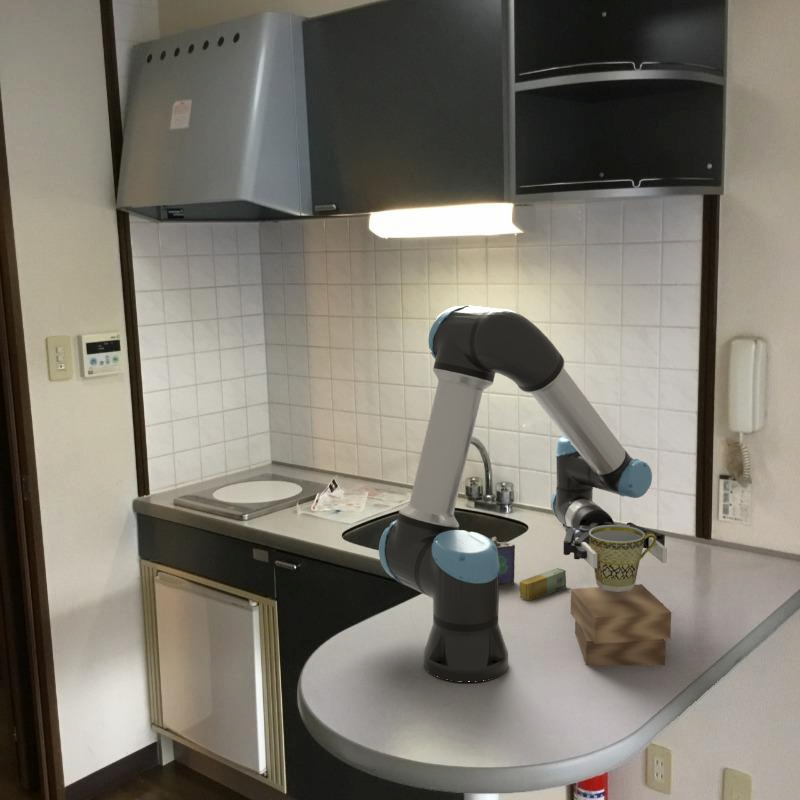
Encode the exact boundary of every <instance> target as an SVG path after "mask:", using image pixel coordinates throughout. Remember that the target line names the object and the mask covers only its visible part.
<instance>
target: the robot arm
mask: <svg viewBox="0 0 800 800" xmlns="http://www.w3.org/2000/svg"><path fill="white" fill-rule="evenodd" d="M428 348H429V349H430V354H431V356H432V357H433V358H434V364H433V368H432V371H433V373H434V374H435V376H436V378H437V380H438V381H437V386H436V389H435V395H434V398H433V403H432V408H431V411H430V414H429V415H430V416H429V419H428V424H427V428H426V432H425V436H424V441H423V445H422V447H421V448H422V449H421V453H420V457H419V461H418V464H417V470H416V473H415V479H414V482H413V486H412V487H413V488H412V490H411V495H410V500H409V502H408V504H407V505H405V506H404V507H402V508H400V509H399V510H398V515H397V519H396V520H394V521H392V522H391V523H390V524H389V526H388V527H386V528H385V529H384V531H383V533H382V534H381V535H380V536H381V537H380V540H379V544H378V557H379V560H380V564H381V566H382V567H383V570H384V571H385V572H386V574H387V575H389V576H390V577H391V578H393V579H394V580H395V581H396V582H398V583H399V584H401V585H403V586H405V587H409V588H411V589H413V590H415V591H417V592H419V593H421V594H423V595H426V596H427V597H430V598H431V599H432V608H433V609H432V616H433V618H432V619H433V621H432V627H431V629H430V632H429V636H428V639H427V641H426V645H425V647H424V650H423V666H424V668H425V670H426V669H427V670H428V671H429V672H430V673H431V674H430V673H429V672H428V671H427V670H426V671H427V672H428V673H429V674H430V675H432V674H433V675H432V676H434V675H435V676H434V677H436V676H438V677H440V678H443V679H442V680H444V679H448V680H452V681H451V682H453V681H462V682H468V681H470V682H474V683H476V682H475V681H482V682H484V681H483V680H487V681H489V680H488V679H491V680H493V679H492V678H494V679H496V678H498V677H500V676H501V674H502V675H503V674H504V673H505V672H506V671H507V670H508V667H509V652H508V648H507V646H506V643H505V639H504V637H503V633H502V631H501V628H500V624H499V609H500V607H499V602H500V601H499V599H500V596H499V595H500V585H499V568H500V564H499V559H498V550H497V547H496V545H495V544H494V543H493V541H492V539H490V538H489V537H487V536H486V535H483V534H482V533H479V532H475V531H467V530H463V529H461V530H460V529H459V528H460V524H459V522H458V520H457V519H456V517H455V509H456V506H457V505H456V504H457V500H458V496H459V492H460V489H461V483H462V479H463V476H464V475H463V474H464V471H465V467H466V465H467V464H466V463H467V458H468V453H469V451H470V450H469V449H470V446H471V443H472V438H473V435H474V430H475V425H476V421H477V417H478V412H479V409H480V403H481V401H482V400H481V399H482V396H483V393H484V391H485V390H487V389H488V388H489V387H491V386H492V385H493V384H494V380H495V375H496V374H499V375H502V376H504V377H506V378H508V379H509V380H511V381H513V382H514V383H515V384H516V386H517V387H518V388H519V389H520V391H521V392H523V393H528V394H531V395H532V396H533V398H534V399H535V401H537V403H538V404H539V405H540V407H541V408H542V409H543V410H544V412H545V413H546V414H547V415H548V417H549V418H550V419H551V420H552V421H553V423H554V425H556V426H557V428H558V429H559V430H560V432H561V433H562V434H563V435H562V436H561V437H559V439H557V446H556V448H557V449H556V455H555V457H556V488H555V489H556V490H555V492H554V493H553V495H552V497H551V499H550V508H551V511H552V513H553V514H554V516H555V517H556V519H557V520H558V521H559V522H560V523H562V524H563V525H564V526H565V537H564V540H563V555H564V556H569V555H571V553H572V554H573V559H574V560H581V559H582V560H584V561H585V562H586V563H587V564H588V565H589V566H590V567H591V568H592V569H594V568H597V553H596V552H595V551H594V550H593V549H591V547H590V542H589V531H590V530H591V529H592V528H594V527H598V526H603V525H618V524H616V523H615V522H614V520H613V518H612V517H611V515H610V513H608V512H606V511H605V510H604V509H602V508H601V506H599V505H598V504H597V503H595V502H594V501H593V488H594V489H598V490H602V491H606V492H607V493H608V492H609V493H611V494H615V495H619V496H621V497H626V498H627V497H628V498H632V499H639V498H641V497H643V496H644V495H645V494H646V493H647V492H648V491H649V489H650V487H651V485H652V480H653V472H652V469H651V467H650V465H649V464H648V463H647V462H645V461H642V460H640V459H638V458H633V457H631V456H630V454H629V453H628V452H627V451H626V449H625V448H624V447H623V446H622V444H621V443H620V441H619V440H618V439H617V437H616V436H615V435H614V433H613V432H612V430H611V429H610V428H609V427H608V425H607V424H606V423H605V421H604V420H603V419H602V417H601V416H600V414H599V413H598V412H597V411H596V409H595V408H594V406H593V405H592V404H591V403H590V401H589V400H588V398H587V397H586V396H585V394H584V393H583V392H582V390H581V389H580V388H579V386H578V385H577V384H576V382H575V381H574V379H573V378H572V377H571V376H570V374H569V373H568V371H567V370H566V369H565V359H564V357H563V355H562V354H561V352H559V350H558V349H557V348H556V346H555V344H553V342H552V341H551V340H550V339H549V337H548V336H547V335H546V334H545V333H544V332H543V331H542V330H540V328H538V327H537V325H536V324H534V323H533V322H531V321H530V319H528V318H526V317H525V316H523V315H522V314H520V313H518V312H516V311H514V310H510V309H504V308H492V307H491V308H490V307H483V306H474V305H471V304H470V305H462V306H458V305H457V306H453V307H450V308H447V309H446V310H444V311H443V312H441V313H440V314H439V315H438V316H437V317H436V319H435V320H434V321H433V323H432V325H431V327H430V330H429V334H428ZM626 526H630V527H634V528H637V529H639V530H641V531H643V532H644V533H646V532H651V533H653V534H654V535H655V536H656V544H655V545H654V546H653V547H652V548H651V549H650V550H649V551H648V553H650V554H651V555H652V556H653V557H655V558H656V559H657V560H658V561H659V562H661V563H662V564H667V563H668V548H667V547H666V546H665V542H666V535H665V534H663V533H660V532H657V531H654V530H651V529H648V528H645V527H643V526H639V525H636V524H635V523H633V522H626ZM653 541H654V538H653V536H649V537H647V538H646V539H645V540H644V546H643V549H645V550H646V549H647V548H648V547H649V546H651V544H652V543H653ZM497 676H498V677H497ZM438 677H437V678H438ZM495 677H496V678H495ZM440 678H439V679H440Z"/></svg>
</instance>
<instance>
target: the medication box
mask: <svg viewBox="0 0 800 800" xmlns="http://www.w3.org/2000/svg"><path fill="white" fill-rule="evenodd" d="M566 571H567V570H565V569H563V568H562V569H561V568H558V567H556V568H554V569H551V570H548V571H545V572H542V573H540V574H537V575H536V574H535V575H534V576H530V577H527V578H526V579H523V580H520V581H519V595H520V596H519V598H521V599H523V600H525V601H531V600H534V599H536V598H537V599H538V598H541V597H543V596H546V595H550V594H551V593H554V592H557V591H560V590H563V589H566V588H567V576H566V575H567V573H566Z"/></svg>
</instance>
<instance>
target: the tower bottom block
mask: <svg viewBox="0 0 800 800" xmlns="http://www.w3.org/2000/svg"><path fill="white" fill-rule="evenodd" d="M574 634H575V637H576V640H577V643H578V646H579V649H580V652H581V655H582V657H583V660H584V663H585V666H666V645H667V644H666V643H667V642H666V639H660V640H646V641H633V642H620V643H606V644H594V643H593V641H592V640H591V639H590V638H589V636H588V635H587V634H586V632H585V631H584V630H583V629H582V627H581V626H580V625H579V624H578V622H577V621H576V620H575V619H574Z"/></svg>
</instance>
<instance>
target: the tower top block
mask: <svg viewBox="0 0 800 800" xmlns="http://www.w3.org/2000/svg"><path fill="white" fill-rule="evenodd" d="M570 615H571V616H572V617H573V618H574V621H575V620H576V621H577V622H578V624H579V625H580V626H581V627H582V629H583V630H584V631H585V632H586V634H587V635H588V636H589V638H590V639H591V640H592V641H593V643H594V644H606V643H620V642H633V641H646V640H660V639H665V640H669V639H671V634H672V633H671V631H672V611H671V610H669V608H667V607H666V606H665V605H664V604H663V603H662V602H661V601H660V600H659V599H658V598H657V597H656V596H655V595H654V594H653V593H652V592H651V591H650V590H649V589H648V588H646V587H645V586H644V585H643V584H642V583H641V584H635V586H634V587H633V588H632V589H631V590H630V591H622V592H613V591H608V590H603V589H602V588H600V587H599V586H596V587H581V588H571V589H570Z"/></svg>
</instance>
